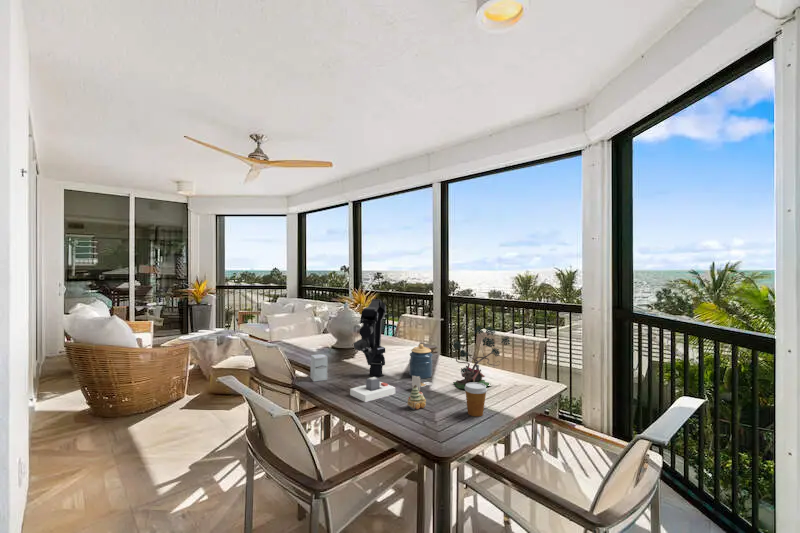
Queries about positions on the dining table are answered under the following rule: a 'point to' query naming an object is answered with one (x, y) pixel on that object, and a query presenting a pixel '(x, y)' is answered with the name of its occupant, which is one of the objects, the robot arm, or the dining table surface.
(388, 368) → the dining table surface
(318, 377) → the supplement box
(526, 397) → the dining table surface
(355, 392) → the socket
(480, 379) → the bonsai tree
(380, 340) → the robot arm
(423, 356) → the canister
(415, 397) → the ornament
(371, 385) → the plug
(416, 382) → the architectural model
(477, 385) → the disposable coffee cup
